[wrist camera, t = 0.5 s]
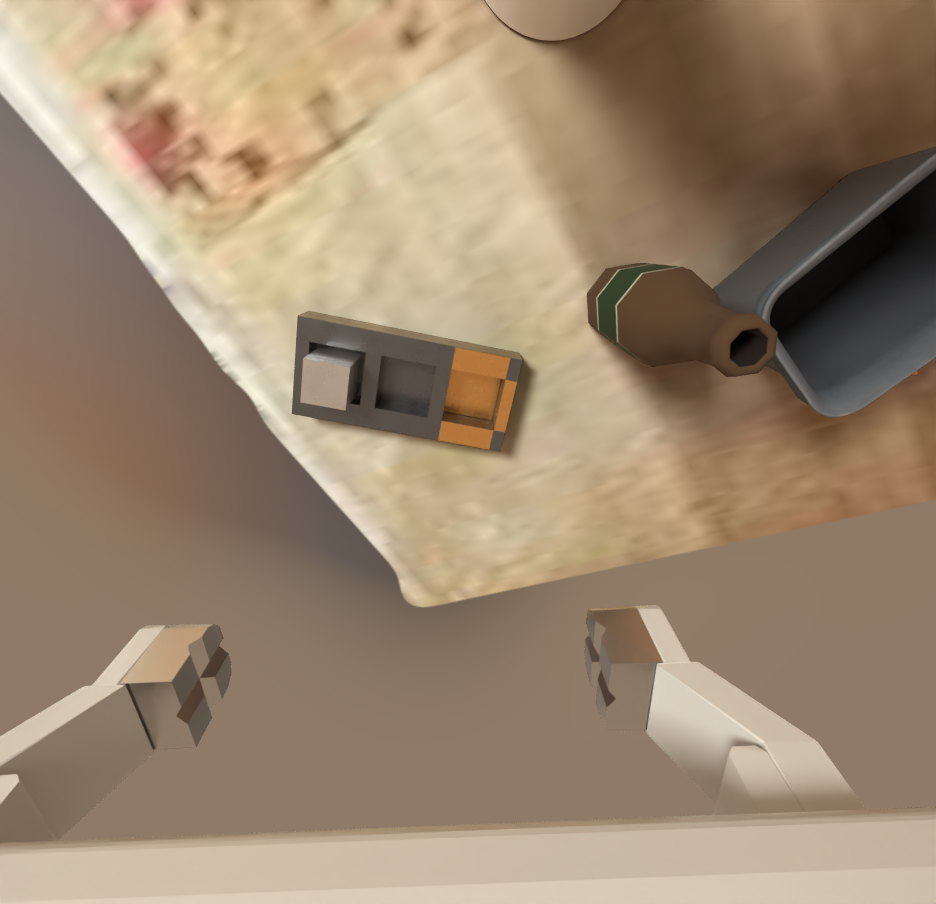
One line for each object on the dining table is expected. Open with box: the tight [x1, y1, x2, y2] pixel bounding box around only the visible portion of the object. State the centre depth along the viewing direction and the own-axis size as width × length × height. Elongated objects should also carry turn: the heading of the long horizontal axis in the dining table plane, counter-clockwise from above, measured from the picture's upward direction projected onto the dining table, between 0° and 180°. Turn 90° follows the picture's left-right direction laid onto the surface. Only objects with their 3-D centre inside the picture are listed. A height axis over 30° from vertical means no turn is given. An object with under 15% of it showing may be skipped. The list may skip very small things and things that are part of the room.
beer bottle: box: [587, 263, 778, 377], centre depth 38 cm, size 8×8×24 cm
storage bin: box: [713, 147, 936, 417], centre depth 42 cm, size 21×16×14 cm
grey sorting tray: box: [292, 311, 523, 451], centre depth 50 cm, size 10×22×4 cm, turn 79°
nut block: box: [300, 344, 364, 411], centre depth 48 cm, size 4×4×7 cm
